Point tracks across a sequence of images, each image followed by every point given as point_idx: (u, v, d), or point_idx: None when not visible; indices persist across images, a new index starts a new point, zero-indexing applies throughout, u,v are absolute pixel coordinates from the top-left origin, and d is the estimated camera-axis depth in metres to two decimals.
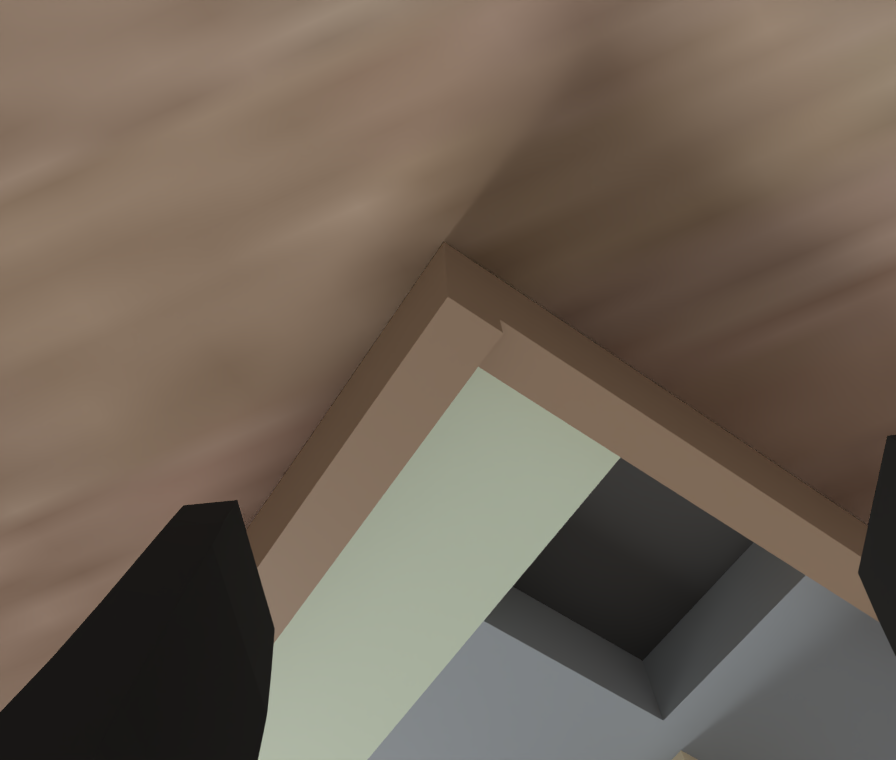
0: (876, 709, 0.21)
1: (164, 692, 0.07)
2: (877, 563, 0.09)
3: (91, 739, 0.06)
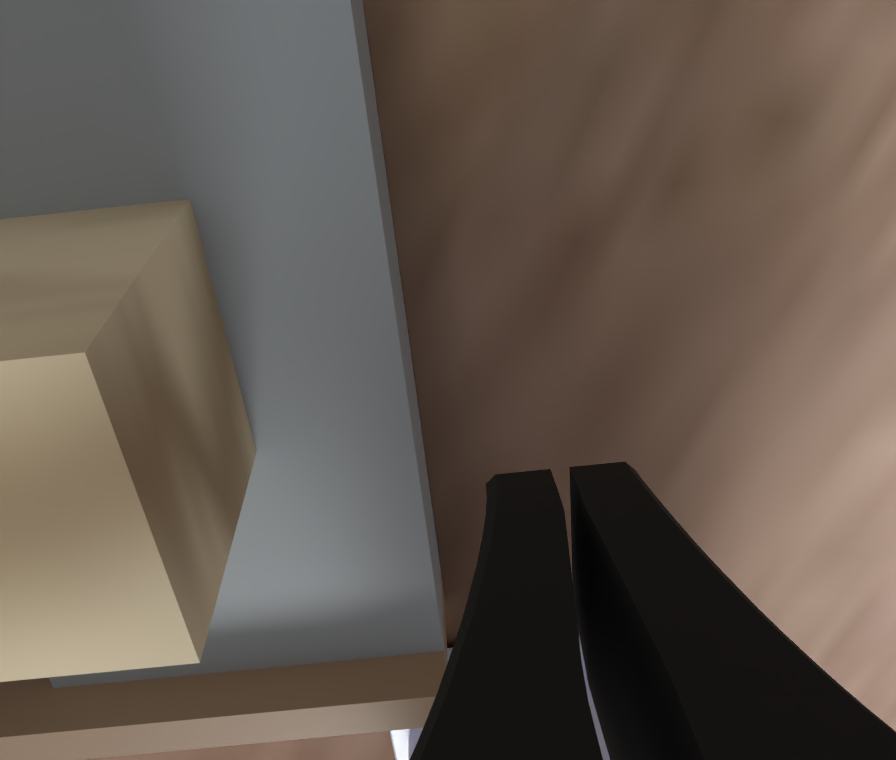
0: None
1: None
2: (576, 592, 0.10)
3: (573, 694, 0.06)
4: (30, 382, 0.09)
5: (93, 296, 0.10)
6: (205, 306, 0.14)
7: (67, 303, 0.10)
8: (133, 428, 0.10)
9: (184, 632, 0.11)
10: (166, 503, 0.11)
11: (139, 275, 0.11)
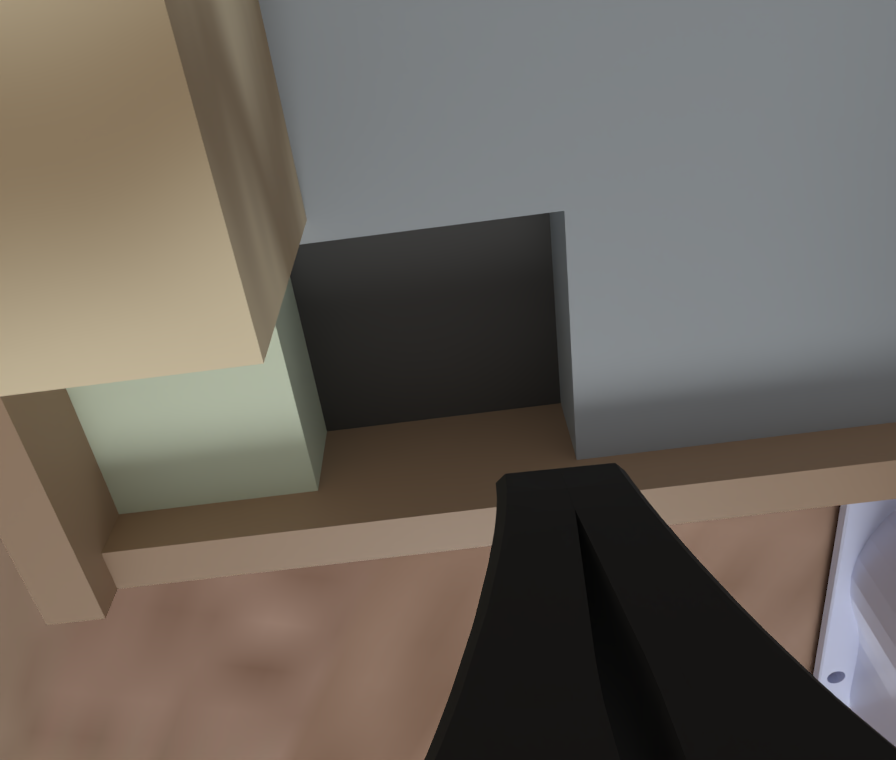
0: None
1: None
2: None
3: (588, 692, 0.06)
4: None
5: None
6: (253, 16, 0.12)
7: None
8: (189, 44, 0.09)
9: (246, 321, 0.10)
10: (224, 161, 0.10)
11: None
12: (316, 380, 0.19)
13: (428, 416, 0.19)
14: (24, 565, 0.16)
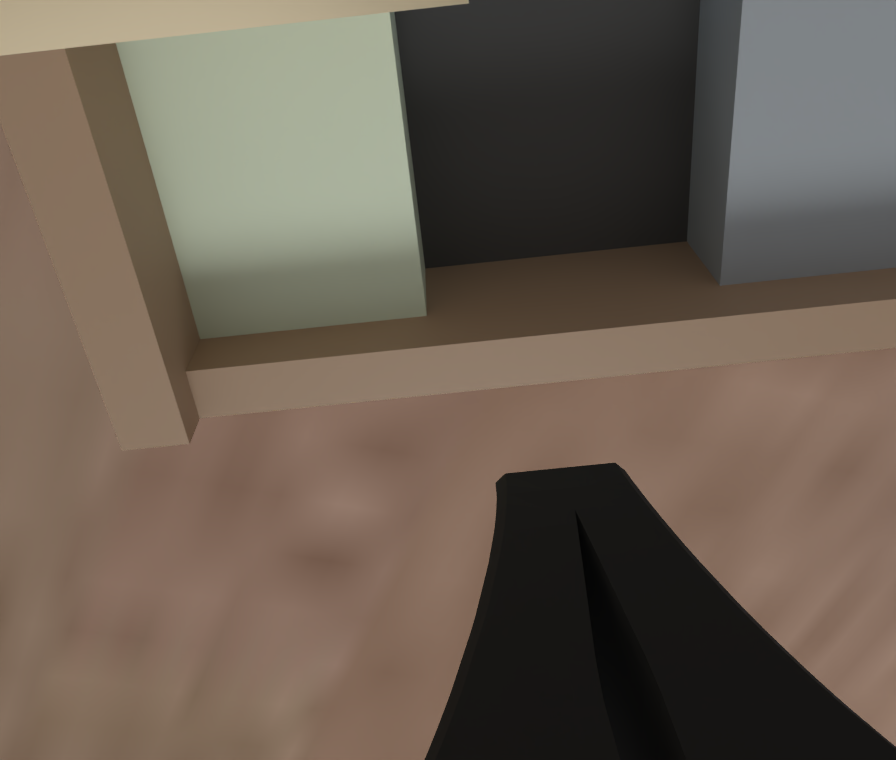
0: None
1: None
2: None
3: (588, 693, 0.06)
4: None
5: None
6: None
7: None
8: None
9: None
10: None
11: None
12: (419, 204, 0.17)
13: (539, 252, 0.17)
14: (104, 370, 0.14)
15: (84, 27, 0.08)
